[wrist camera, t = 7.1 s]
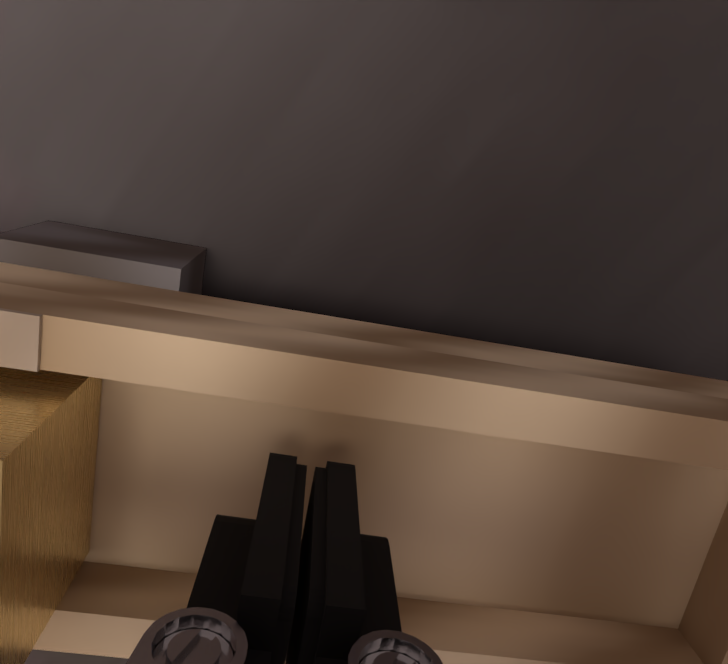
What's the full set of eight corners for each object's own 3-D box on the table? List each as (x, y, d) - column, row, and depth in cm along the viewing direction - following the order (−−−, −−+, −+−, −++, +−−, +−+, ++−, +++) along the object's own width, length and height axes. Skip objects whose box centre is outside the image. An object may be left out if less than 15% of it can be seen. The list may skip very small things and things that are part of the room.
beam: (696, 332, 18) (879, 422, 12) (614, 565, 20) (736, 739, 14) (-581, 111, 14) (-1217, 86, 8) (-512, 425, 16) (-980, 580, 10)
